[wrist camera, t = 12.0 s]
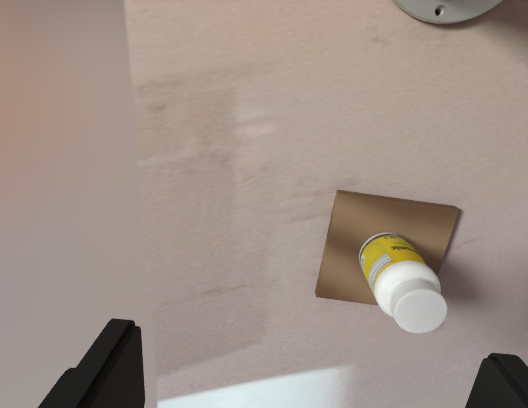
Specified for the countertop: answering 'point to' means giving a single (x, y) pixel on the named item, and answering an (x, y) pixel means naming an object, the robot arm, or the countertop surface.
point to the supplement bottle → (402, 283)
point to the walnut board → (369, 224)
